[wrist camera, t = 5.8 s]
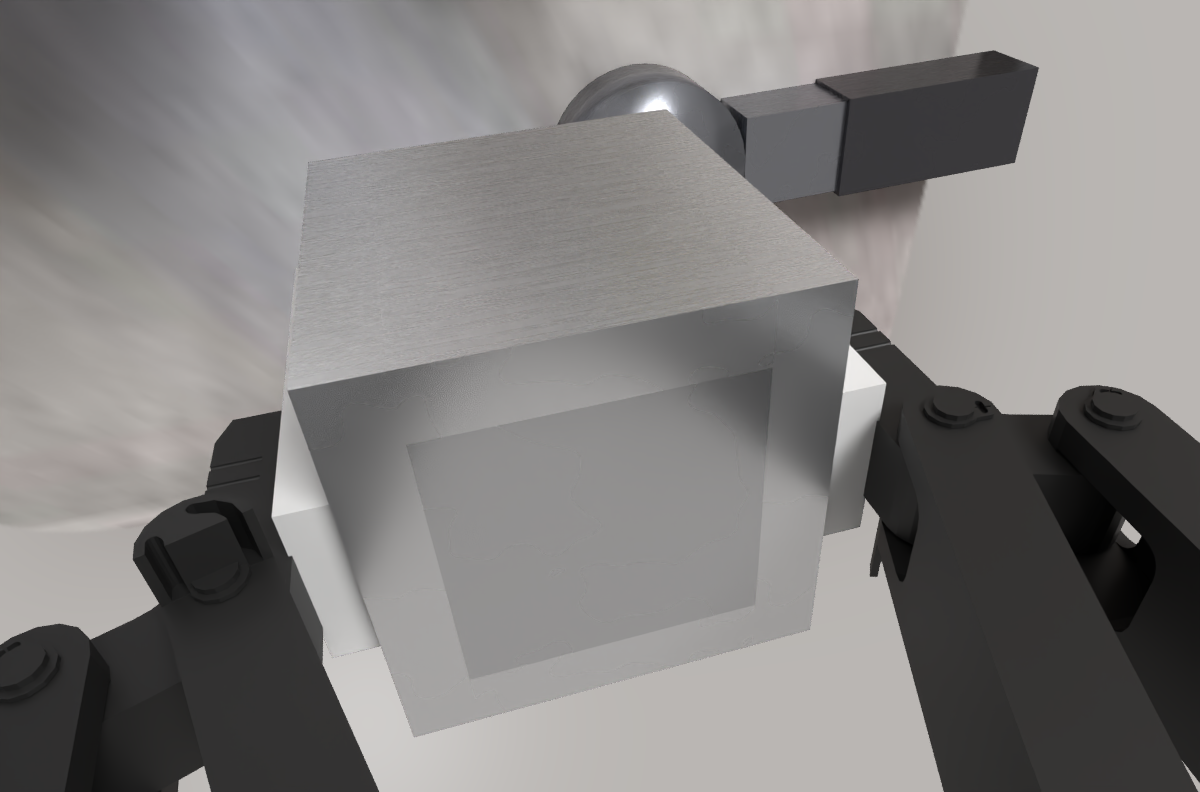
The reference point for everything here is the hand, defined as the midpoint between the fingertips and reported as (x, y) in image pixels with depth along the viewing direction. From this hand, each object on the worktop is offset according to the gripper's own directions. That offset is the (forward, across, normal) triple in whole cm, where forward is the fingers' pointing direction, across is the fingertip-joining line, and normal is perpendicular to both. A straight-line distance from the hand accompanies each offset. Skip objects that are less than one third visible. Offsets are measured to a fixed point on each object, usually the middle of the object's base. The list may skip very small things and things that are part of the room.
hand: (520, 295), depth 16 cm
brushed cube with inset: (0, 0, 0) cm, 0 cm away
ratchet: (+16, +13, -4) cm, 21 cm away
